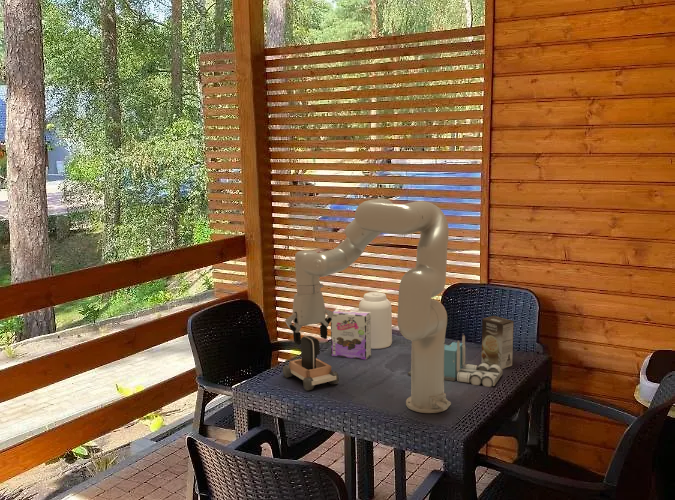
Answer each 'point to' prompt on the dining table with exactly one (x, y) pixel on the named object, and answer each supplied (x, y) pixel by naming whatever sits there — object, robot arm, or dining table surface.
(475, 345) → the dining table surface
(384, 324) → the white jar
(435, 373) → the robot arm
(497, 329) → the coffee box
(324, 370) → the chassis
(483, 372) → the truck
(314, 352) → the battery charger
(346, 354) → the candy box
